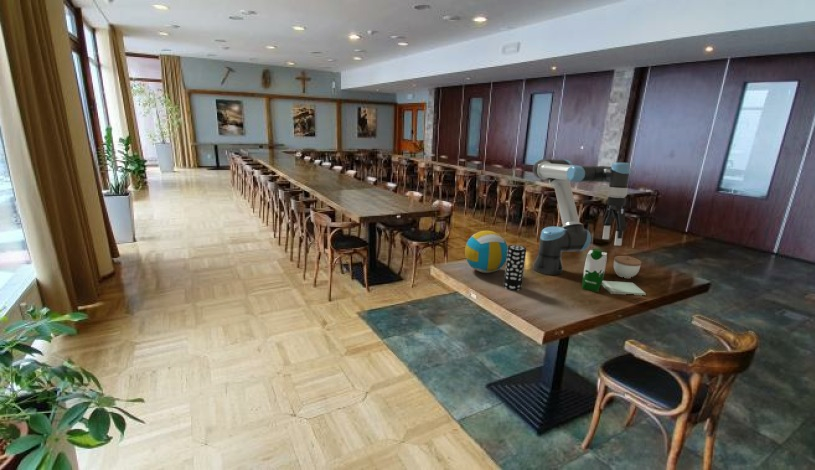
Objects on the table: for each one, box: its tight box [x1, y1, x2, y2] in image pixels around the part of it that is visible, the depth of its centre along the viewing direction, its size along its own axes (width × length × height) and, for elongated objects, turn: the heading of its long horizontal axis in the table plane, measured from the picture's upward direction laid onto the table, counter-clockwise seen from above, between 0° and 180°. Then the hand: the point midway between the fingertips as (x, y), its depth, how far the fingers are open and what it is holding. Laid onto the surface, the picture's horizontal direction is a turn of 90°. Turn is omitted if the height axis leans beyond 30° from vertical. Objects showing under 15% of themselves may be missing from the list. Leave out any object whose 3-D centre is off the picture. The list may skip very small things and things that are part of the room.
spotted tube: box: [503, 244, 527, 292], centre depth 189 cm, size 8×8×20 cm
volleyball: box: [464, 230, 508, 274], centre depth 207 cm, size 22×22×22 cm
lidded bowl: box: [613, 255, 642, 279], centre depth 211 cm, size 13×13×11 cm
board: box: [601, 280, 647, 296], centre depth 195 cm, size 16×13×1 cm
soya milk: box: [581, 248, 608, 293], centre depth 192 cm, size 9×9×20 cm
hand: (611, 242), depth 187 cm, fingers open, 13 cm apart
